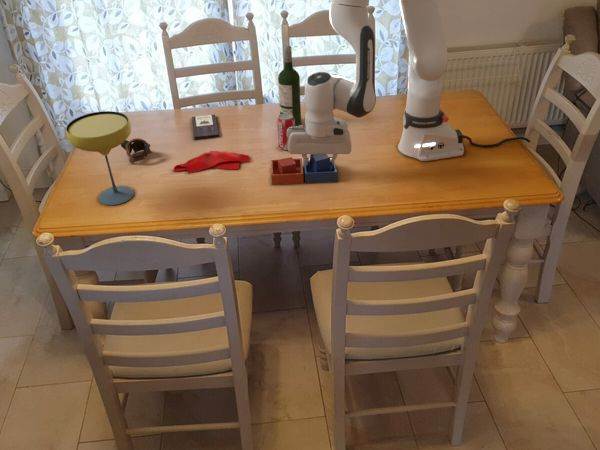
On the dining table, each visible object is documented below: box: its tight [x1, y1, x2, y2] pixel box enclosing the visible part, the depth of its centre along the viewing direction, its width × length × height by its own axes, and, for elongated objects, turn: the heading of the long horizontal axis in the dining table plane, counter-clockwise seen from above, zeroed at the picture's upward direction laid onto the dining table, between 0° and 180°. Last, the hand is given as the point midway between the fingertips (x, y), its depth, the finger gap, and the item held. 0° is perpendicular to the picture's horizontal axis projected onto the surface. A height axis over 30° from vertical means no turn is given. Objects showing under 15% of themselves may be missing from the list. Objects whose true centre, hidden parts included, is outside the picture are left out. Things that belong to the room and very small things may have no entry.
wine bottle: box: [277, 44, 302, 126], centre depth 208 cm, size 8×8×30 cm
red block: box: [277, 156, 296, 174], centre depth 183 cm, size 5×5×5 cm
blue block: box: [309, 154, 330, 172], centre depth 182 cm, size 5×5×5 cm
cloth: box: [172, 150, 251, 174], centre depth 193 cm, size 26×14×2 cm, turn 94°
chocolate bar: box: [191, 114, 219, 140], centre depth 215 cm, size 9×1×18 cm
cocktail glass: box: [65, 110, 135, 206], centre depth 171 cm, size 18×18×25 cm
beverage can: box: [276, 113, 295, 151], centre depth 197 cm, size 6×6×12 cm
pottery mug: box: [120, 137, 152, 165], centre depth 196 cm, size 12×10×8 cm
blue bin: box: [302, 156, 338, 184], centre depth 184 cm, size 10×10×4 cm
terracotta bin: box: [270, 157, 305, 186], centre depth 184 cm, size 10×10×4 cm
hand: (320, 164), depth 183 cm, fingers closed on blue block, 6 cm apart
